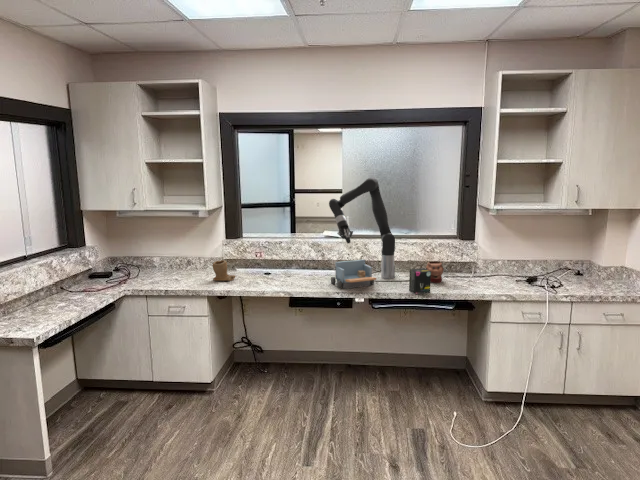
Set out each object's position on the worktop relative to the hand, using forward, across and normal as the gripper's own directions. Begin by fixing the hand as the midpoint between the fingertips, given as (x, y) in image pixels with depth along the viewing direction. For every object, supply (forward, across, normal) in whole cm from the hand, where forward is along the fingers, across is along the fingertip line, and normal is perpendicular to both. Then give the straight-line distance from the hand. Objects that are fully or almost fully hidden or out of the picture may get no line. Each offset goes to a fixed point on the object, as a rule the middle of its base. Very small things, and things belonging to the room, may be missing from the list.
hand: (349, 242), depth 296 cm
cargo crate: (+26, +2, +3) cm, 26 cm away
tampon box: (+51, +26, -20) cm, 60 cm away
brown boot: (-5, -76, +59) cm, 96 cm away
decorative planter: (+40, +53, -10) cm, 67 cm away
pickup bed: (+27, -1, +11) cm, 29 cm away
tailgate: (+29, -3, 0) cm, 29 cm away
